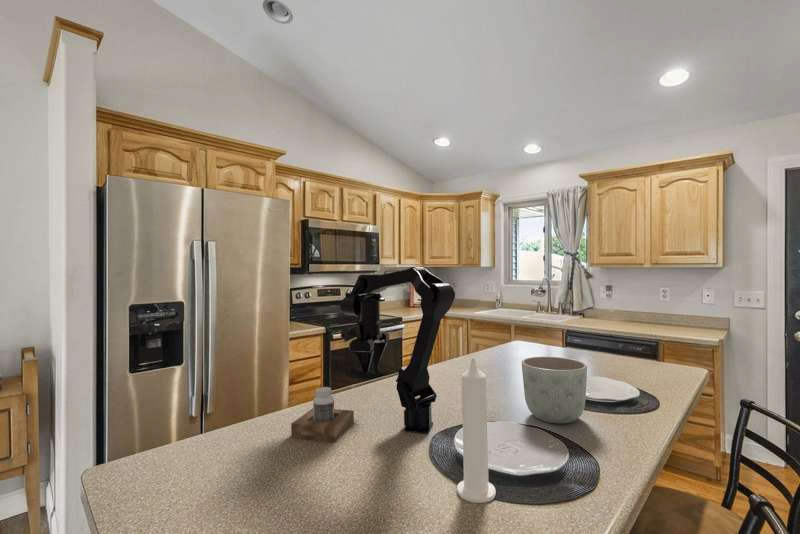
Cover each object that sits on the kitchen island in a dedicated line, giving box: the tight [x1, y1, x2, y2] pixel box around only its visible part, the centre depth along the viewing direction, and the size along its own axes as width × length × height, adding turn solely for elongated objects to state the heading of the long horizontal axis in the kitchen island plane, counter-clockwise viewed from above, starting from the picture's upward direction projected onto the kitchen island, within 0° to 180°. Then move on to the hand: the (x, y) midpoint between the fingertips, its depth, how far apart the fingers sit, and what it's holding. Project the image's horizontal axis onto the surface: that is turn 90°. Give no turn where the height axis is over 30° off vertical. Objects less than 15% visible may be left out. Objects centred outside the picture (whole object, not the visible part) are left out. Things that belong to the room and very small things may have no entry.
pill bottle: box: [312, 386, 335, 423], centre depth 104 cm, size 5×5×10 cm
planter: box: [520, 355, 588, 425], centre depth 109 cm, size 17×17×15 cm
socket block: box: [290, 408, 355, 443], centre depth 104 cm, size 12×12×4 cm
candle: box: [456, 357, 497, 504], centre depth 73 cm, size 7×7×25 cm
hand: (371, 369), depth 116 cm, fingers open, 9 cm apart
